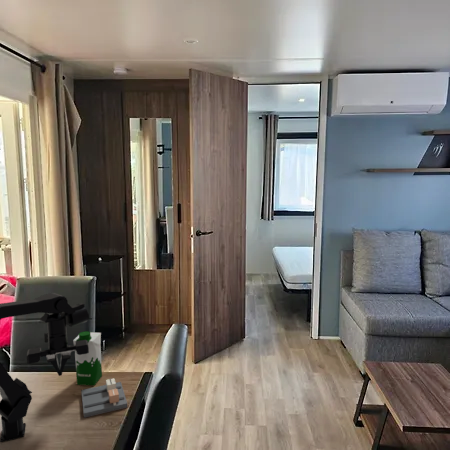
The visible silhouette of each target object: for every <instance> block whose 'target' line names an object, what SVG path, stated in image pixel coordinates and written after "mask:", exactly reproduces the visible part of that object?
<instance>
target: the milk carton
mask: <svg viewBox="0 0 450 450" xmlns="http://www.w3.org/2000/svg"><path fill="white" fill-rule="evenodd" d="M101 335H102V332H92V331H89V330H88V331H84V330H83V331H81V332H79V333H78V335H77V336H76V337H75V338H74V339H73V340H72V341H73V345H76V341H81V340H87V341H88V347H89V353H87V354H82V355H78V354H77V353H76V351H74V358H75V372H76V385H77V386H92V387H93V386H95V387H96V385H97V384H98V382H99V381H100V380H101V378H102V377H103V369H102V353H101V352H102V351H101V350H102V349H101V348H102V347H101V344H102V343H101V341H102V338H101V337H102V336H101Z"/></svg>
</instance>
